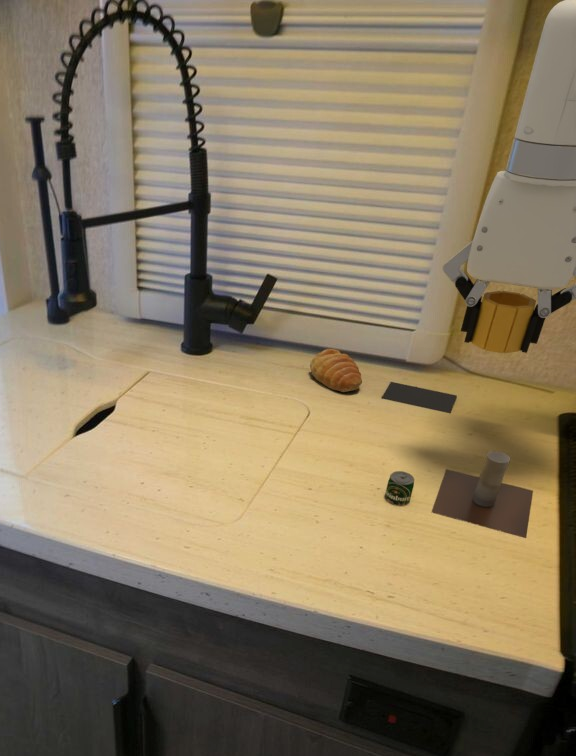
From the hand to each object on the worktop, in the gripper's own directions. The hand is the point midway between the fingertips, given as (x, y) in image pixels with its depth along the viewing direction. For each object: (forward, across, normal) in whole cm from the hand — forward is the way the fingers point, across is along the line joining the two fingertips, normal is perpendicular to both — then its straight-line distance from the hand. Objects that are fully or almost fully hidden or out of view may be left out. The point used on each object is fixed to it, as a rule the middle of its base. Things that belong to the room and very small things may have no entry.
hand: (496, 341), depth 74 cm
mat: (+17, +8, -17) cm, 26 cm away
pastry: (+17, +21, -18) cm, 33 cm away
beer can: (+17, +6, +12) cm, 22 cm away
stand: (+17, -4, +8) cm, 19 cm away
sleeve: (0, 0, 0) cm, 0 cm away
